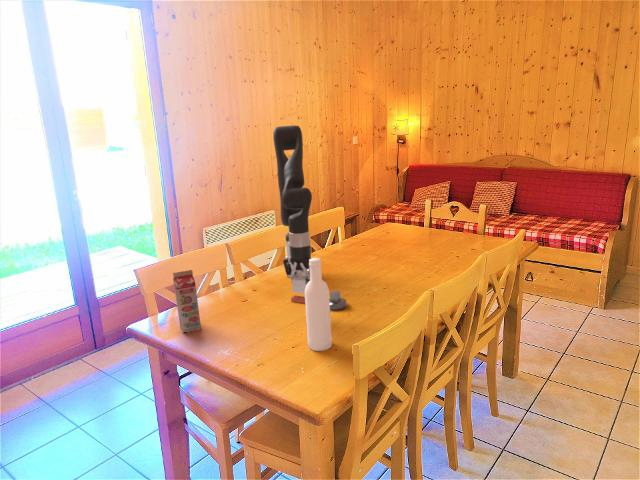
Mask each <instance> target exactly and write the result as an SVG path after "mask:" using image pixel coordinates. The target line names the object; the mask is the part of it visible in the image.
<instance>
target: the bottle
mask: <svg viewBox="0 0 640 480" xmlns="http://www.w3.org/2000/svg"><path fill="white" fill-rule="evenodd" d="M309 266H310V281H309V282H308V283H307V285H306V288H305V294H304V297H305V304H304V305H305V318H306V319H305V320H306V331H307V332H306V333H307V334H306V335H307V345H308V346H307V347H308V348H309V350H312V351H315V352H323V351H327V350H328V349H330V348H331V347H332V345H333V343H332V341H333V338H332V324H331V310H330V301H329V299H330V290H329V286H328V283H327V282H326V281H324V280H323V279H322V278H323V277H322V259H321V258H319V257H313V258H312V257H311V259H310V260H309Z"/></svg>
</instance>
